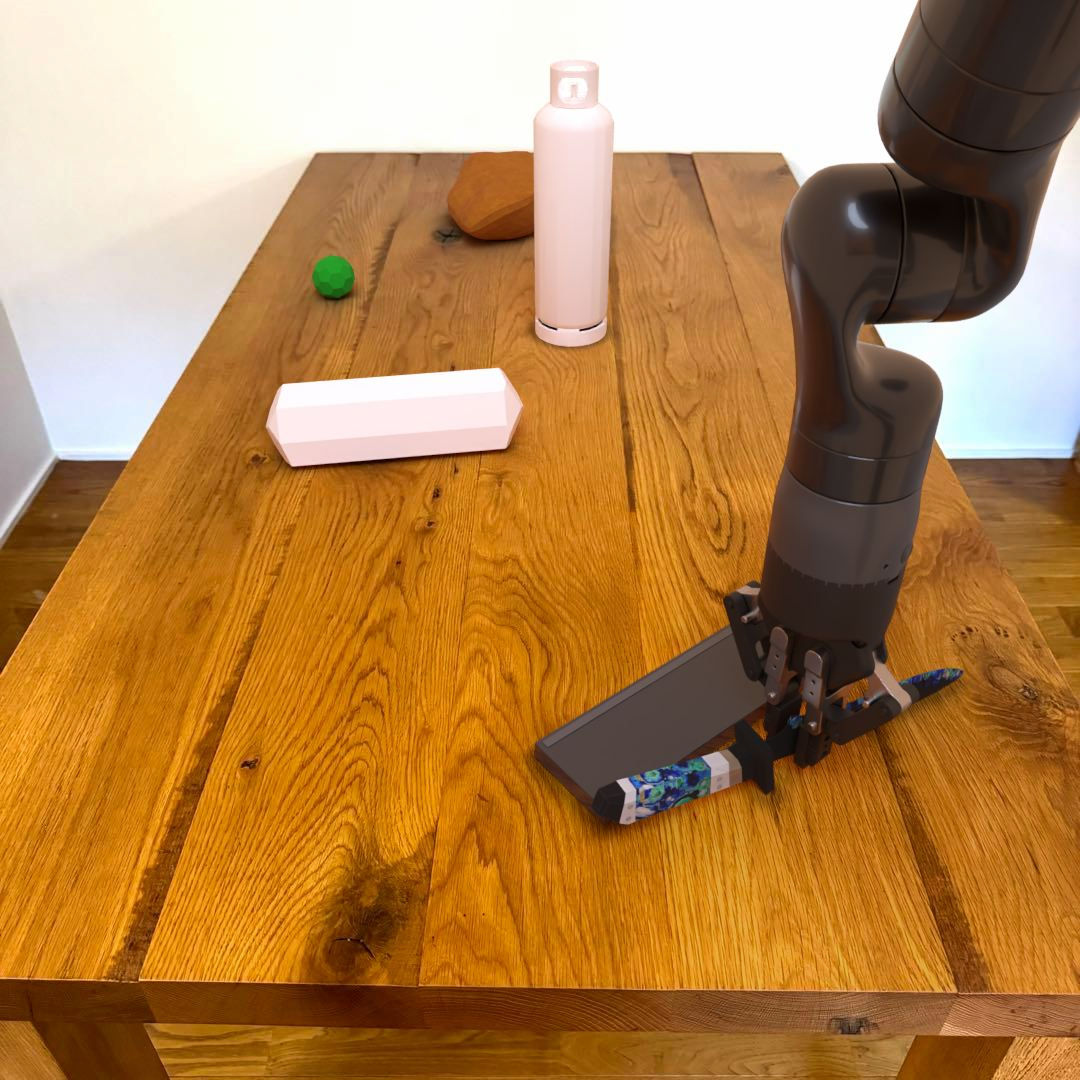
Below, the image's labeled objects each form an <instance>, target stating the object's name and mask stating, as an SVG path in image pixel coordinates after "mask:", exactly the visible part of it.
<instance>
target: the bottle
mask: <svg viewBox="0 0 1080 1080" xmlns="http://www.w3.org/2000/svg"><path fill="white" fill-rule="evenodd" d="M568 67H583V68H585V69H586V70H579V71H578V70H576V71H575V70H574V71H573V70H566V69H567V68H568ZM599 77H600V65H599V63H597V62H595V61H591V60H586V59H563V60H557V61H554V62H552V63H550V65H549V102H547V103H546V104H544V105H543V106H541V108H539V110H538V111H537V112H535V116H534V118H533V122H532V123H533V125H532V126H533V127H532V129H533V157H534V232H533V233H534V236H533V237H534V240H533V241H534V244H533V245H534V310H535V315H534V329H535V331H534V332H535V335H536V336H537V337H538V338H539V339H540V340H541V341H543V342H545V343H546V344H551V345H554V346H558V347H567V348H568V347H571V348H572V347H584V346H589V345H592V344H594V343H597V342H599V341H600V340H602V339H603V338H604V337H605V336H606V334H607V330H608V329H607V327H608V318H607V312H608V305H609V304H608V303H609V301H608V299H609V278H610V277H609V273H610V272H609V271H610V247H611V245H610V244H611V223H612V222H611V221H612V220H611V219H612V196H613V195H612V194H613V193H612V192H613V168H614V167H613V166H614V165H613V164H614V161H613V160H614V139H615V120H614V118H613V116H612V112H611V111H610V110H609V109H608V108H607V107H606V106H605V105H604V104H602V103H600V102H599V81H600V80H599V79H600V78H599ZM564 78H567V79H583V80H584V82H585V83H586V88H585V89H584V90H578V86H579V85H580V82H573V81H571V82H569V83H568V85H569V86H570V90H568V89H566V88H565V87H564V85H563V83H562V79H564ZM546 325H547V326H548V327H547V326H546ZM594 326H596V327H594ZM550 327H552V328H550ZM553 328H554V329H553ZM589 328H590V329H589ZM583 329H584V330H583ZM585 329H586V330H585Z"/></svg>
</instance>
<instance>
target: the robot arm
mask: <svg viewBox="0 0 1080 1080" xmlns="http://www.w3.org/2000/svg"><path fill="white" fill-rule="evenodd" d="M900 40H901V41H900V43H899V45H898V48H897V50H896V53H895V55H894V57H893V60H892V62H891V64H890V67H889V70H888V72H887V74H886V77H885V80H884V82H883V85H882V89H881V92H880V96H879V101H878V105H877V116H876V119H877V128H878V134H879V137H880V140H881V142H882V145H883V147H884V150H885V151H886V152H887V154H888V155H889V157H890V158H891V159H892V161H893V162H854V163H839V164H834V165H833V164H832V165H829V166H826V167H824V168H821V169H819V170H817V171H815V172H814V173H813V174H811V176H809V177H807V179H806V180H805V181H804V182H803V183H802V185H801V186H799V188H798V190H797V191H796V193H795V194H794V195H793V197H792V199H791V200H790V203H789V205H788V206H787V209H786V211H785V214H784V217H783V221H782V226H781V233H780V256H781V265H782V266H781V267H782V273H783V278H784V284H785V289H786V296H787V300H788V306H789V311H790V318H791V319H790V321H791V326H792V335H793V346H794V347H793V348H794V361H795V363H794V364H795V365H794V366H795V392H794V393H795V394H794V401H793V402H794V403H793V409H792V417H791V424H790V430H789V436H788V440H787V441H788V442H787V448H786V453H785V457H784V462H783V466H782V469H781V472H780V475H779V478H778V481H777V484H776V487H775V492H774V497H773V502H772V508H771V509H772V510H771V516H770V521H769V522H770V523H769V528H768V536H767V540H766V546H765V553H764V558H763V565H762V566H763V567H762V571H761V577H760V582H758V581H757V580H750V581H749V582H747V583H745V584H744V585H741V586H740V587H739V588H737V589H736V590H734V591H732V592H730V593H728V594H726V595H725V596H724V597H723V599H722V603H723V606H724V611H725V613H726V617H727V620H728V623H729V624H730V626H731V630H732V633H733V636H734V639H735V642H736V646H737V649H738V652H739V655H740V659H741V662H742V665H743V668H744V672H745V674H746V676H747V677H748V678H749V679H750V680H751V681H753V682H756V681H758V680H759V682H760V683H761V684H762V685H763V686H764V688H765V690H764V695H765V697H766V699H767V704H766V710H765V715H764V717H763V721H762V726H763V730H764V732H766V736H765V740H767V739H769V738H772V737H774V736H775V735H777V734H778V733H779V732H780V731H782V730H783V729H784V728H785V726H786V725H787V722H788V720H789V718H790V717H791V716H793V715H801V710H802V705H803V702H804V703H805V710H804V715H805V716H804V723H803V724H802V725H800V729H799V734H798V739H797V743H796V748H795V753H794V754H793V757H792V763H793V764H794V765H795V766H797V767H798V768H800V769H801V770H805V769H806V768H807V767H811V768H813V767H815V766H816V765H818V764H819V763H820V762H821V761H823V760H824V759H825V758H827V757H828V756H829V755H830V754H831V751H832V747H833V743H834V744H835V745H837V746H839V747H842V746H844V745H846V744H848V743H850V742H852V741H854V740H856V739H858V738H860V737H861V736H864V735H866V734H868V733H870V732H873V731H874V730H876V729H877V728H880V727H882V726H884V725H886V724H887V723H890V722H891V721H893V720H894V719H895V718H896V717H898V716H899V715H901V714H902V713H903V712H905V711H906V710H908V709H909V708H910V707H912V706H913V705H914V704H916V703H917V702H916V701H918V700H919V692H918V690H917V689H916V687H915V686H914V685H912V684H910V683H903V684H901V685H899V684H898V682H899V681H897V679H896V678H895V677H894V676H893V674H892V672H891V671H890V670H889V669H888V667H887V666H886V664H887V662H888V658H889V656H888V655H889V652H888V651H889V650H888V648H887V643H886V634H887V631H888V629H889V626H890V624H891V621H892V620H893V617H894V614H895V610H896V606H897V603H898V599H899V595H900V592H901V588H902V585H903V580H904V577H905V573H906V570H907V569H906V568H907V565H908V561H909V558H910V557H911V555H912V552H913V549H914V538H915V534H916V530H917V527H918V524H919V518H920V513H921V502H922V491H923V486H924V480H925V477H926V473H927V468H928V466H929V462H930V458H931V454H932V450H933V448H934V447H933V446H934V443H935V438H936V434H937V430H938V426H939V422H940V418H941V414H942V410H943V404H944V403H943V402H944V388H943V385H942V381H941V378H940V377H939V375H938V373H937V372H936V371H935V370H934V368H933V367H931V366H930V364H929V363H927V362H926V361H924V360H922V359H921V358H918V357H916V356H915V355H913V354H911V353H908V352H905V351H902V350H899V349H895V348H892V347H887V346H882V345H879V344H875V343H869V342H864V341H860V340H859V335H860V331H861V328H862V327H863V326H870V325H872V326H876V325H877V326H878V325H897V324H898V325H899V324H902V325H903V324H922V323H923V324H924V323H927V324H935V323H938V324H939V323H955V322H956V323H957V322H963V321H967V320H971V319H973V318H977V317H979V316H982V315H983V314H985V313H987V312H989V311H990V310H992V309H994V308H995V307H996V306H998V305H999V304H1001V303H1002V302H1003V301H1004V300H1006V298H1007V297H1009V296H1010V295H1011V294H1012V293H1013V291H1015V289H1016V288H1017V286H1018V285H1019V284H1020V282H1021V280H1022V278H1023V276H1024V274H1025V271H1026V268H1027V265H1028V262H1029V259H1030V255H1031V251H1032V247H1033V243H1034V238H1035V234H1036V229H1037V225H1038V221H1039V218H1040V214H1041V211H1042V207H1043V205H1044V202H1045V198H1046V195H1047V192H1048V190H1049V185H1050V183H1051V179H1052V177H1053V173H1054V171H1055V167H1056V164H1057V162H1058V161H1057V160H1058V158H1059V155H1060V152H1061V150H1062V147H1063V143H1064V142H1065V140H1066V139H1067V138H1068V137H1069V135H1070V133H1071V132H1072V130H1073V129H1074V128H1075V126H1076V124H1077V122H1078V121H1079V120H1080V0H917V1H916V5H915V7H914V9H913V12H912V14H911V15H910V18H909V21H908V23H907V26H906V28H905V31H904V32H903V35H902V38H901V39H900ZM758 641H760V643H761V646H762V649H763V653H764V654H763V655H761V656H759V657H758V653H757V650H756V643H757V642H758ZM864 679H866V680H867V684H868V686H867V689H866V690H865V691H864V697H865V700H863V701H862V705H863V706H861V707H860V708H858V709H856V710H855V711H850V710H847V709H846V705H847V703H848V698H849V694H850V692H851V691H852V690H853V688H854V687H855V684H856V683H857V682H859V681H862V680H864ZM803 686H804V688H803V690H802V691H801V692H799V689H801V688H802V687H803ZM915 702H916V703H915ZM918 702H919V701H918Z"/></svg>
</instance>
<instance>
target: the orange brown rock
mask: <svg viewBox="0 0 1080 1080" xmlns="http://www.w3.org/2000/svg"><path fill="white" fill-rule="evenodd" d="M446 203H447V204H446V205H447V211H448V212H449V214H450V216H451V218H452V219H453V222H455V224H456V225H457V227H459V228H460V229H461V231H462V232H464V233H466V234H467V235H469V236H471V237H474V238H476V239H479V240H480V239H481V240H487V241H488V240H489V241H490V240H493V241H494V240H495V241H496V240H497V241H501V240H512V239H518V238H521V237H524V236H527V235H530V234H533V233H534V154H533V153H530V152H529V151H526V150H514V151H513V150H512V151H511V150H509V151H501V152H496V151H495V152H493V151H479V152H473V153H471V154H470V155H469V156H468V157H467V158H466V159H465V160H464V161H463V162H462V166H461V168H460V171H459V173H458V175H457V179H456V181H454V184H453V186H452V187H451V189H450V191H449V192H448V194H447V195H446Z"/></svg>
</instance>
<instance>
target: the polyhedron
mask: <svg viewBox="0 0 1080 1080" xmlns="http://www.w3.org/2000/svg"><path fill="white" fill-rule="evenodd" d="M311 279H312V283H313V286H314V288H315V290H316V291H317V292H318V293H319V294H321V295H322V296H323V297H326V298H330V299H336V300H337V299H340V298H342V297H344V296H345V295H347V294H348V293H350V292H351V291H352V288H353V286H354V283H355V280H356V275H355V271H354V268H353V266H352V264H351V263H350V262H349V261H348V260H347V259H346V258H344V257H342V256H339V255H331V254H329V255H327V256H324V257H323V258H321V259H319V260H318V261H317V262H316V263H315V266H314V268H313V271H312V274H311Z"/></svg>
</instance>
